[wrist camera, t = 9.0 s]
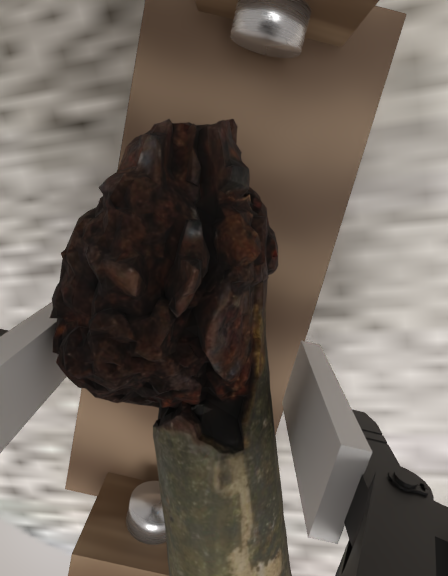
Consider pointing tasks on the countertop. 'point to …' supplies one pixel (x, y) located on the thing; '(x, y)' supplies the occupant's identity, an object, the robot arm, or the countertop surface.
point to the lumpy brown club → (185, 338)
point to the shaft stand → (264, 180)
